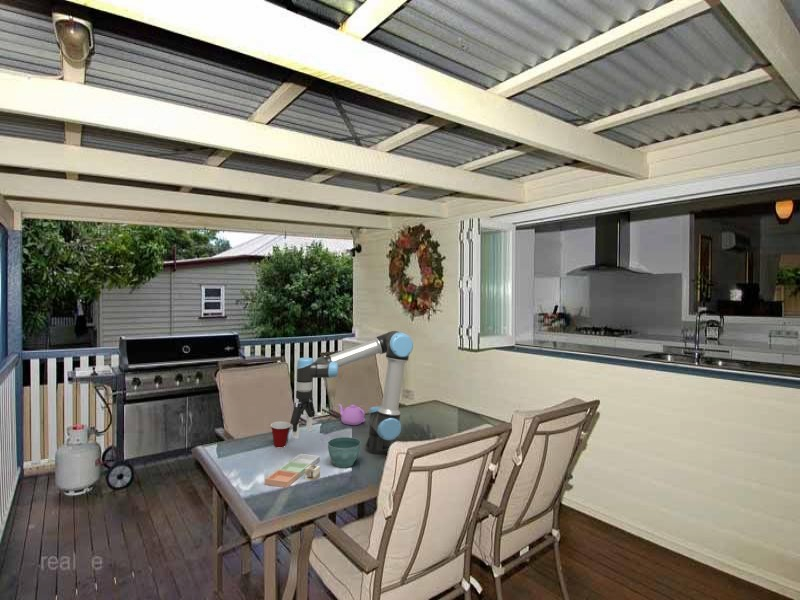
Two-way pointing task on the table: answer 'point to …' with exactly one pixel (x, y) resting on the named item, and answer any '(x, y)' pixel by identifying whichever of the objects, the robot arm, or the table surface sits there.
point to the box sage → (295, 467)
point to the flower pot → (344, 451)
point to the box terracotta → (281, 478)
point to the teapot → (352, 415)
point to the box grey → (306, 459)
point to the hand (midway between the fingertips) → (302, 434)
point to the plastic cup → (280, 433)
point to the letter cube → (312, 472)
